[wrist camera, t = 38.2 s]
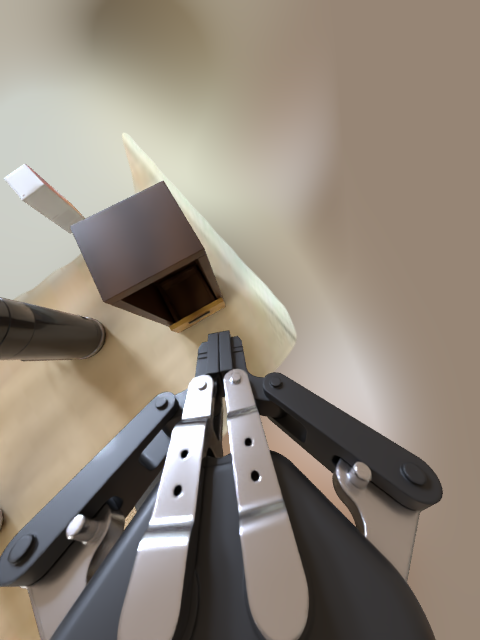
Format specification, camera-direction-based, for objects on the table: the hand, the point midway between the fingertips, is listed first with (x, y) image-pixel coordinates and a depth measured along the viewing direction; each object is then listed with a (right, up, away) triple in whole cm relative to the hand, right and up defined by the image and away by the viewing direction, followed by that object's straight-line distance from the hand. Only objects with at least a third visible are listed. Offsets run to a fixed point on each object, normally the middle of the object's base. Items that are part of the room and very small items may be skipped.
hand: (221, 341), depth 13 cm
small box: (-43, +28, +35) cm, 63 cm away
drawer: (-10, +6, +28) cm, 31 cm away
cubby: (-10, +7, +30) cm, 33 cm away
